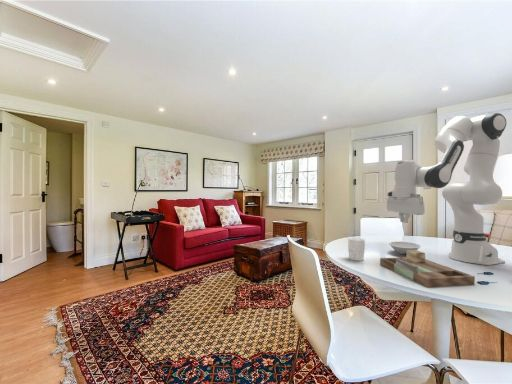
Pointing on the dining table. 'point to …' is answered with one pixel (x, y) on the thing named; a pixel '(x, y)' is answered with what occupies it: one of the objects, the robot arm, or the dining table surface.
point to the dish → (404, 246)
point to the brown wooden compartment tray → (427, 272)
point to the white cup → (356, 248)
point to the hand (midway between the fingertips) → (404, 222)
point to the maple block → (415, 256)
